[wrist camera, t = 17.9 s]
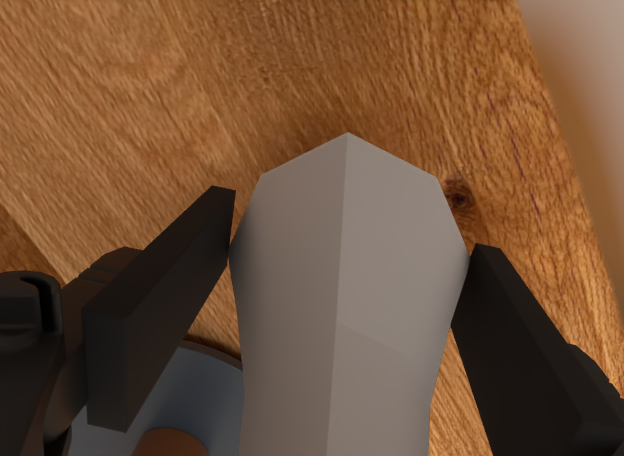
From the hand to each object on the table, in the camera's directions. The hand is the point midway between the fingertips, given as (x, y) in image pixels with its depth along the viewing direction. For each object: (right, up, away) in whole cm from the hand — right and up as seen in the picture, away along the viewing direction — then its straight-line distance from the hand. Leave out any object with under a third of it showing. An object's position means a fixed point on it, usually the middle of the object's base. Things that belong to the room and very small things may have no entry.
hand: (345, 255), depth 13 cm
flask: (0, 0, 0) cm, 0 cm away
